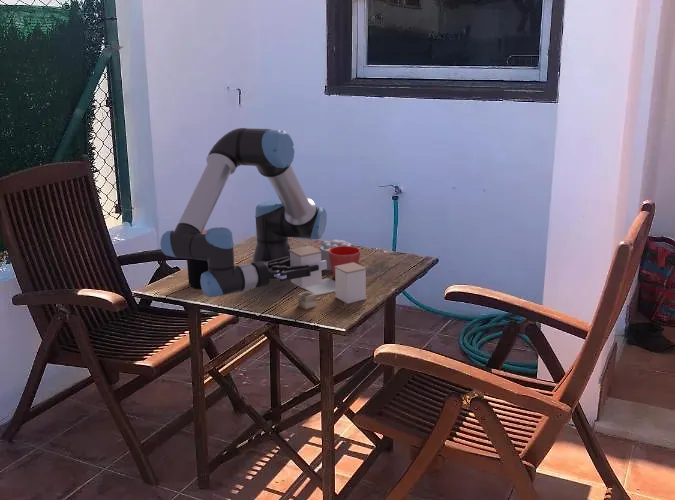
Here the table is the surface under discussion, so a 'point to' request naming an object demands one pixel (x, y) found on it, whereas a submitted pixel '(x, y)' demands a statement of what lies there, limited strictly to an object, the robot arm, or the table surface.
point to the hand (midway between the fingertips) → (319, 261)
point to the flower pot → (343, 256)
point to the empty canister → (350, 282)
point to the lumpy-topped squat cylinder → (327, 246)
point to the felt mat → (322, 287)
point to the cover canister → (303, 258)
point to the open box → (307, 300)
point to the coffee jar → (196, 270)
